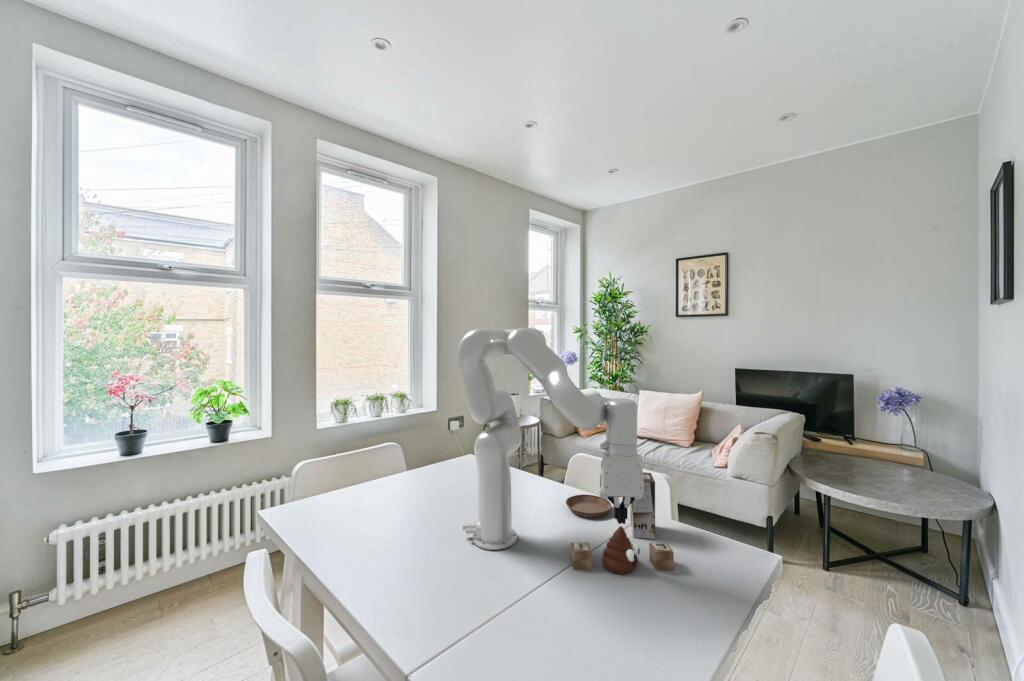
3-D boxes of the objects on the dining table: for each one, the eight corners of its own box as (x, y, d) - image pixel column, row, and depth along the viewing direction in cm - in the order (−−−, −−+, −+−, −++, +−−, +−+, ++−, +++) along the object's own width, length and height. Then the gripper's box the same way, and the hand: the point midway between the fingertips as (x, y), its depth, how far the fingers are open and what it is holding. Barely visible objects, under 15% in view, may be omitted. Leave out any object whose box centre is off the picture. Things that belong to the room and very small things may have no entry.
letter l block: (655, 570, 101) (655, 550, 101) (649, 560, 105) (649, 541, 105) (673, 570, 101) (673, 550, 101) (667, 560, 105) (667, 541, 105)
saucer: (620, 513, 135) (620, 504, 135) (588, 525, 126) (588, 516, 126) (588, 498, 147) (588, 491, 147) (556, 508, 138) (556, 500, 138)
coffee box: (656, 539, 116) (655, 482, 116) (632, 537, 117) (631, 481, 117) (651, 525, 125) (651, 472, 125) (629, 523, 126) (629, 471, 126)
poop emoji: (611, 551, 110) (611, 516, 110) (644, 561, 105) (643, 524, 105) (596, 568, 102) (596, 531, 102) (630, 580, 97) (629, 540, 97)
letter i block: (573, 570, 102) (572, 550, 102) (570, 560, 106) (570, 541, 106) (591, 570, 101) (591, 550, 101) (588, 560, 106) (588, 541, 106)
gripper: (593, 452, 100) (593, 527, 100) (656, 453, 99) (655, 529, 100) (589, 444, 107) (588, 514, 108) (646, 445, 107) (646, 515, 107)
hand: (620, 521), depth 104 cm, fingers closed
